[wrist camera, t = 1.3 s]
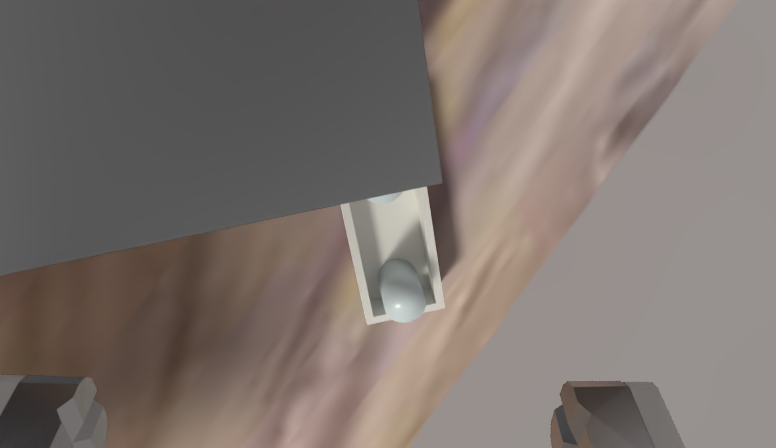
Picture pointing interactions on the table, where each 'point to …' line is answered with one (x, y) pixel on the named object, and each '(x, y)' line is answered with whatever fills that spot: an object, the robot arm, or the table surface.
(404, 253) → the tray
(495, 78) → the table surface
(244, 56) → the side table
